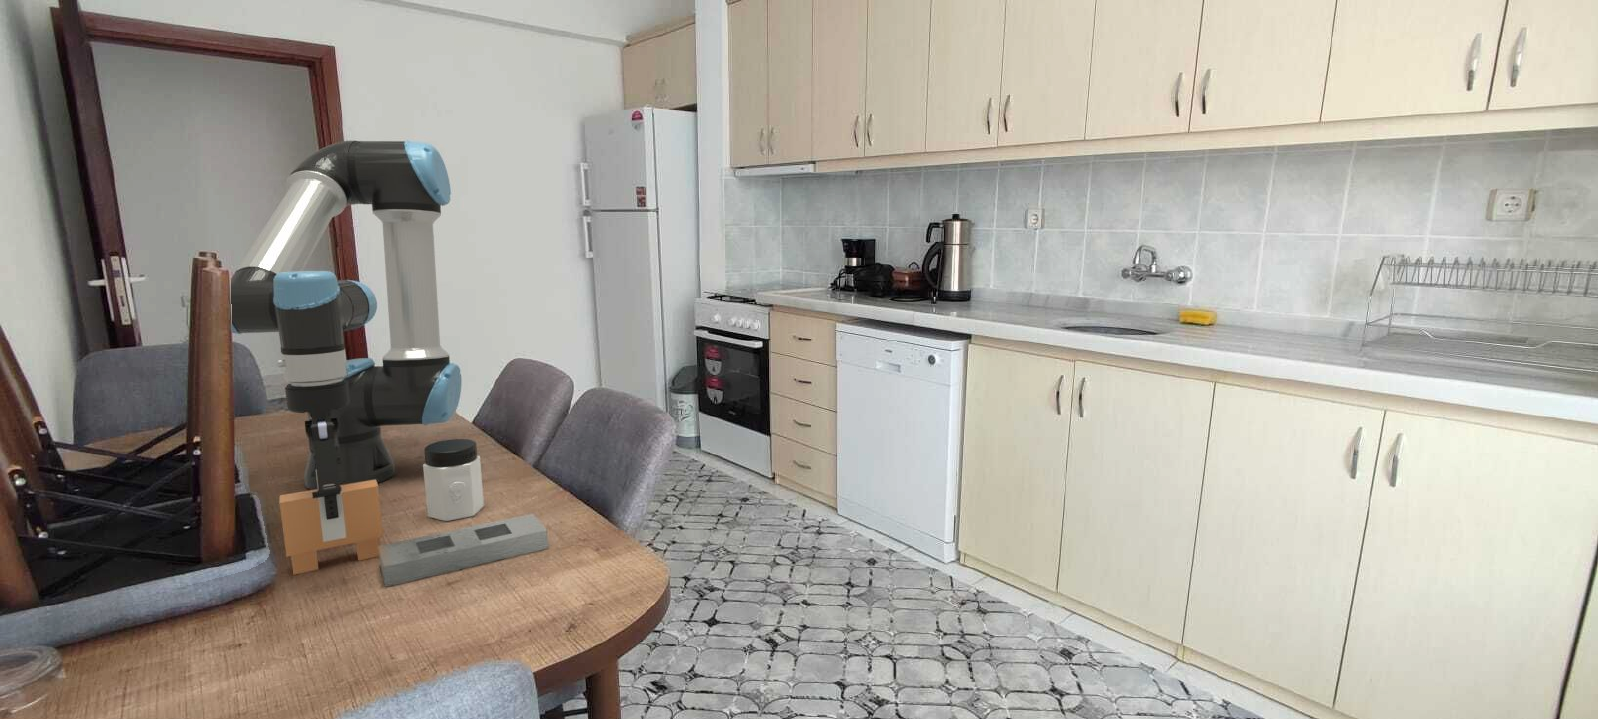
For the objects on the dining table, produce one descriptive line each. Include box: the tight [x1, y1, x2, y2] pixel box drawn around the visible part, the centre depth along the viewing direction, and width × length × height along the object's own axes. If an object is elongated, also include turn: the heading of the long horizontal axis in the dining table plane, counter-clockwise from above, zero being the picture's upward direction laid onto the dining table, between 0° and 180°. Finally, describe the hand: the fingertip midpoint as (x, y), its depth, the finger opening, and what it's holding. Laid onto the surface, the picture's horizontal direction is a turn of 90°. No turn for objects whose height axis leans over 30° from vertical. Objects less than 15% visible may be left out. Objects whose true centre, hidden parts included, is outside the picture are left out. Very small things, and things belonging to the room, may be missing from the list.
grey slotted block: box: [378, 513, 549, 588], centre depth 110 cm, size 8×22×3 cm, turn 124°
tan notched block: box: [278, 479, 384, 576], centre depth 108 cm, size 4×12×11 cm, turn 124°
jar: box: [422, 438, 485, 522], centre depth 127 cm, size 9×8×12 cm
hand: (332, 523), depth 107 cm, fingers open, 13 cm apart
